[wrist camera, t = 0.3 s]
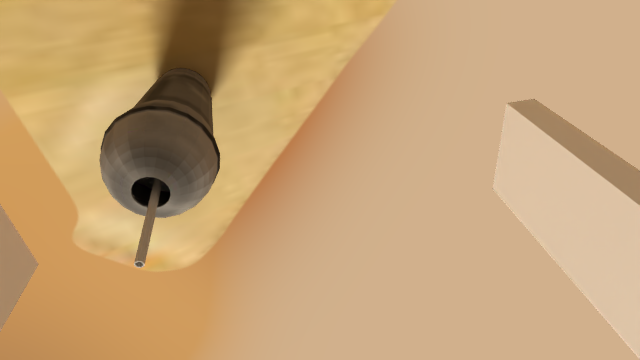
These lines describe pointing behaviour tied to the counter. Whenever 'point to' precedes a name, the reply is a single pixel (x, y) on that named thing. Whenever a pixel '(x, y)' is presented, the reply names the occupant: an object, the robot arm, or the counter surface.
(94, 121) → the counter surface
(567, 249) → the robot arm
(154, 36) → the counter surface
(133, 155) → the beverage cup
